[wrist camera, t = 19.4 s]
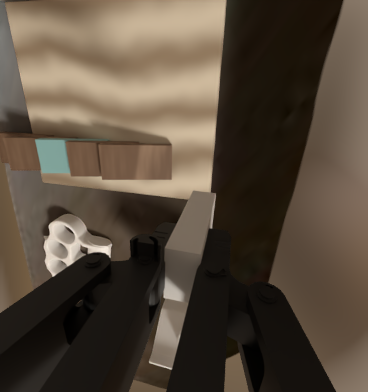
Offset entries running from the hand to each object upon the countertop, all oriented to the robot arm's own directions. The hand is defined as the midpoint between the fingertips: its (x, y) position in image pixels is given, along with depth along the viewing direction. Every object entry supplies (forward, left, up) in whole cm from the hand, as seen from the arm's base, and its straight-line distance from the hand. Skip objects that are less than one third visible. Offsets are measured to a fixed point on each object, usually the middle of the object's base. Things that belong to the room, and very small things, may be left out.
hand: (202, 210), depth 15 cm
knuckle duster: (+23, -27, -21) cm, 41 cm away
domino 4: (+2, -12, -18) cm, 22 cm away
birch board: (-5, -16, -20) cm, 26 cm away
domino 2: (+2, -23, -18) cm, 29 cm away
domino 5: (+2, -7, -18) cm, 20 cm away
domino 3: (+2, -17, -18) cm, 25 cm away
